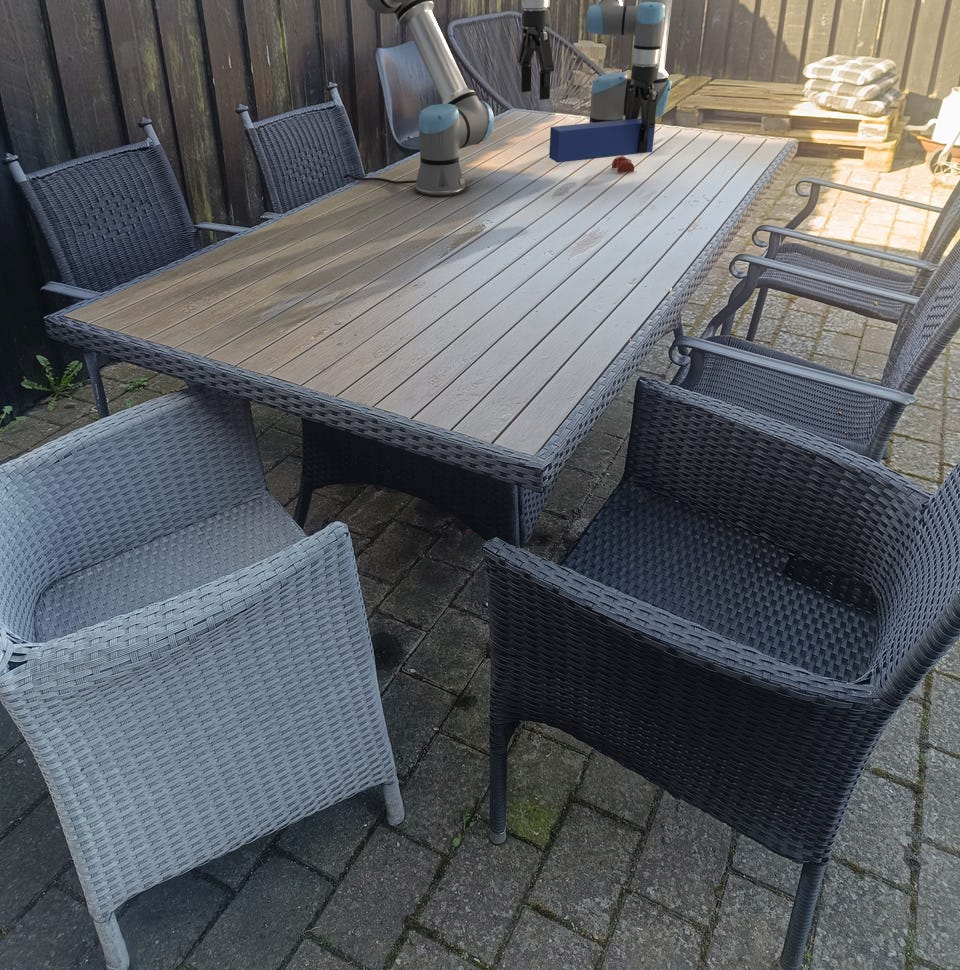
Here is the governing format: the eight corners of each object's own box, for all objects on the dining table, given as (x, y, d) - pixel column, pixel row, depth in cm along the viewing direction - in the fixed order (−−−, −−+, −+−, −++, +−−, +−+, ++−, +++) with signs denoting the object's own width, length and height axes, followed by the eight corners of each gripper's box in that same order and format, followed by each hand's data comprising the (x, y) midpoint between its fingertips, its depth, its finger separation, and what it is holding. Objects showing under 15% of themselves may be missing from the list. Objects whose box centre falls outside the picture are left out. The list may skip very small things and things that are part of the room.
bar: (557, 162, 244) (558, 131, 239) (549, 157, 248) (550, 126, 243) (652, 152, 253) (655, 121, 248) (642, 147, 257) (645, 117, 252)
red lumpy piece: (626, 152, 277) (636, 159, 270) (626, 166, 279) (635, 172, 273) (610, 154, 276) (620, 161, 269) (610, 167, 278) (619, 174, 272)
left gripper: (567, 12, 217) (565, 101, 229) (531, 5, 237) (530, 87, 249) (540, 14, 215) (540, 103, 227) (506, 6, 235) (507, 89, 247)
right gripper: (674, 69, 234) (663, 155, 248) (640, 58, 248) (632, 140, 262) (650, 71, 232) (641, 158, 246) (617, 60, 246) (610, 143, 260)
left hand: (535, 95), depth 238 cm, fingers open, 13 cm apart
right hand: (636, 149), depth 254 cm, fingers closed on bar, 6 cm apart
